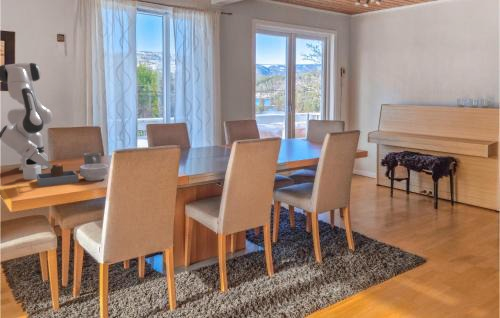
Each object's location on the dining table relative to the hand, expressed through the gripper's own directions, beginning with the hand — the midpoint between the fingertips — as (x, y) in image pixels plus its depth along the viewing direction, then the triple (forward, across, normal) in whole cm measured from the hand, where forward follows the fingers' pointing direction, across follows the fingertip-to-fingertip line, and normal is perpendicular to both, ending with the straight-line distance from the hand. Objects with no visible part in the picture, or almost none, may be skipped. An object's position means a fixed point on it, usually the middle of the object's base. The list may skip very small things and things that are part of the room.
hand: (50, 166), depth 231 cm
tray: (+9, -1, -5) cm, 10 cm away
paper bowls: (+22, +2, +9) cm, 24 cm away
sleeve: (+8, -1, -4) cm, 10 cm away
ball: (+3, -1, +2) cm, 4 cm away
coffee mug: (+26, -26, +12) cm, 39 cm away
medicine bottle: (+1, -18, -12) cm, 22 cm away
